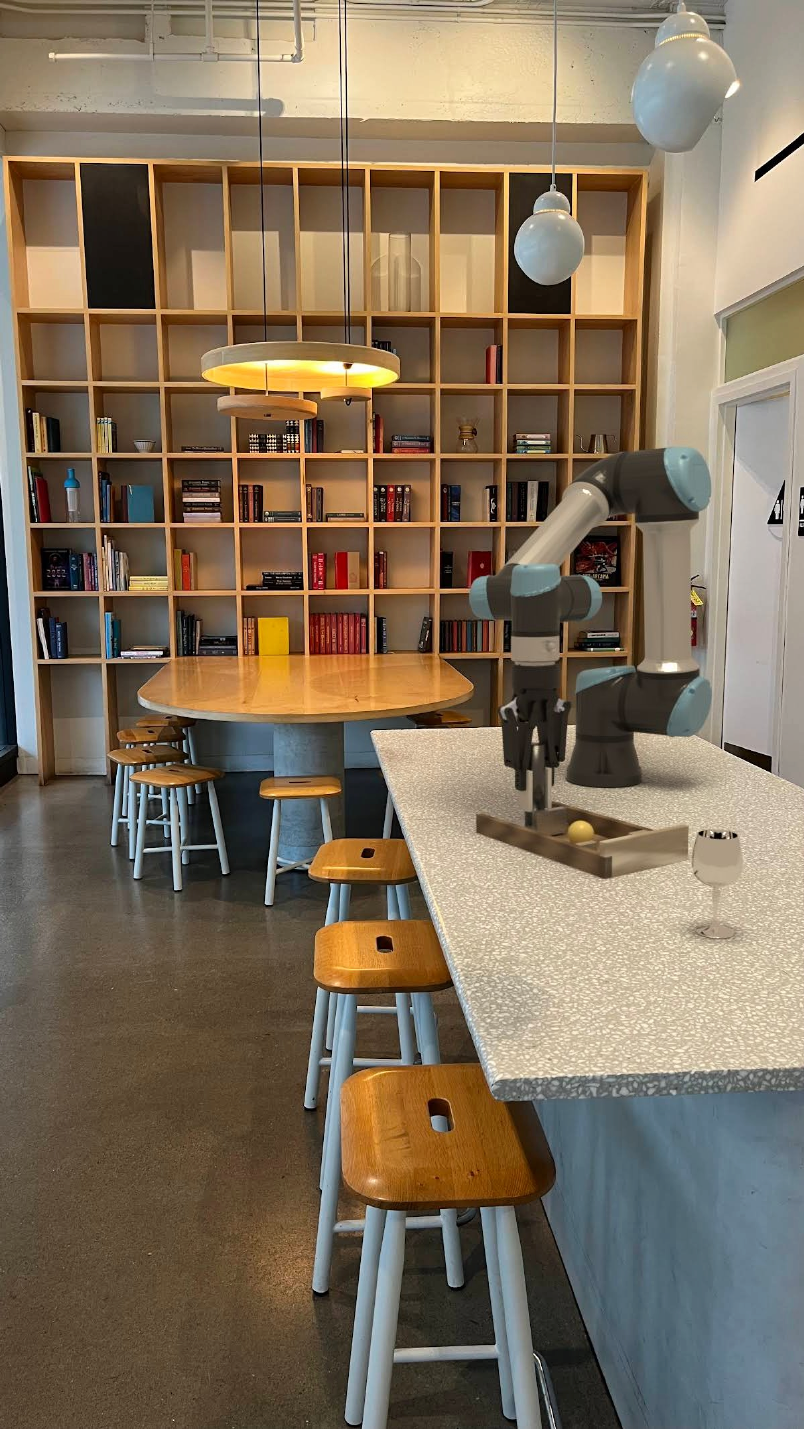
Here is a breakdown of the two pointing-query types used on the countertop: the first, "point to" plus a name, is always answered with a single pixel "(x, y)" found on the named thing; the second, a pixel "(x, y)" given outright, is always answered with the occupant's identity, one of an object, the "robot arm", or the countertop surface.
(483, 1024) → the countertop surface
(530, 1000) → the countertop surface
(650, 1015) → the countertop surface
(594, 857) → the lane
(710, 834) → the wineglass
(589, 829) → the ball
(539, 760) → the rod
